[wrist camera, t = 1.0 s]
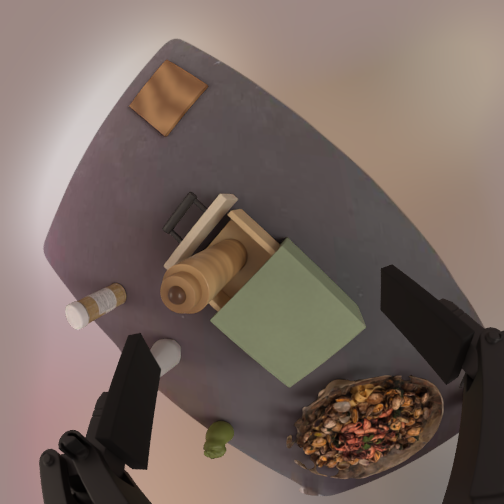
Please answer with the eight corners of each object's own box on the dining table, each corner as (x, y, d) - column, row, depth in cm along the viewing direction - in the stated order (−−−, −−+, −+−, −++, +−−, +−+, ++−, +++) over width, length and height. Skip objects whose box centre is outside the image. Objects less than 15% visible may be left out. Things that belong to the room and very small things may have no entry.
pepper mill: (229, 231, 40) (167, 258, 22) (254, 254, 40) (210, 300, 22) (208, 255, 41) (140, 295, 24) (232, 278, 41) (179, 334, 23)
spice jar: (112, 303, 50) (68, 328, 37) (108, 281, 49) (61, 303, 36) (129, 304, 49) (84, 332, 36) (125, 282, 48) (77, 306, 35)
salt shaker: (154, 346, 50) (118, 381, 37) (165, 328, 48) (127, 363, 36) (178, 364, 49) (146, 403, 37) (190, 347, 48) (157, 387, 35)
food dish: (265, 394, 48) (258, 419, 40) (430, 334, 40) (446, 354, 32) (317, 480, 50) (315, 502, 42) (439, 440, 42) (447, 460, 34)
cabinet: (225, 301, 44) (209, 320, 37) (286, 237, 40) (281, 245, 33) (293, 361, 44) (289, 387, 37) (357, 305, 40) (366, 327, 33)
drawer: (162, 239, 44) (143, 245, 38) (212, 175, 40) (196, 172, 34) (245, 319, 43) (236, 335, 38) (305, 261, 40) (304, 271, 34)
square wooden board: (168, 60, 38) (166, 59, 37) (208, 86, 38) (207, 84, 37) (131, 107, 41) (128, 106, 40) (166, 136, 41) (164, 136, 40)
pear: (226, 413, 50) (211, 446, 40) (241, 428, 50) (229, 461, 40) (207, 420, 51) (192, 450, 42) (223, 434, 51) (209, 465, 42)
